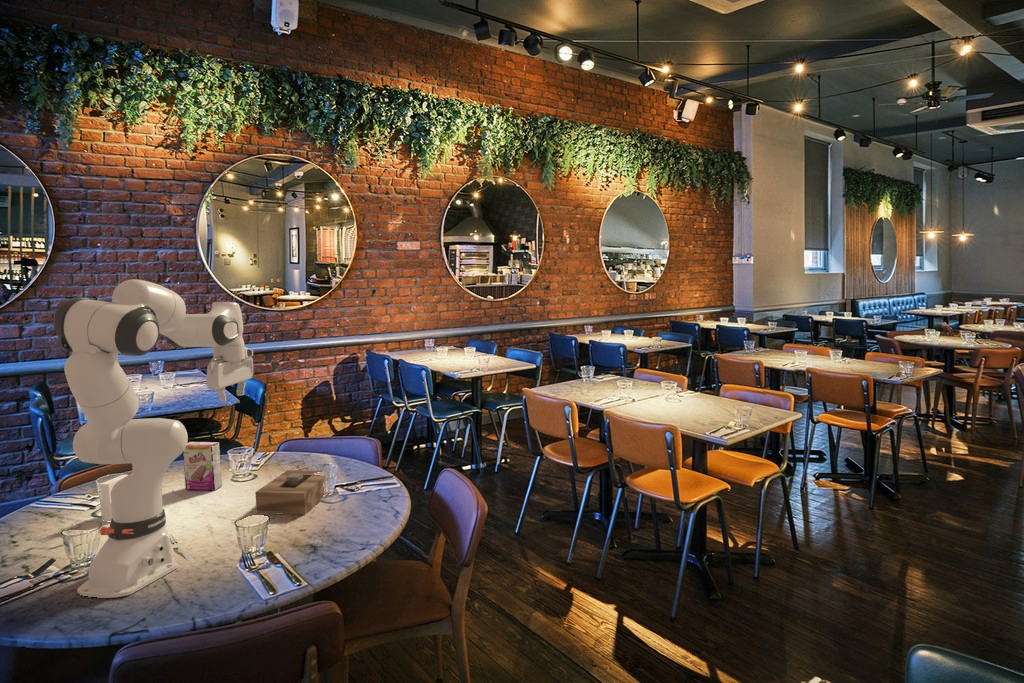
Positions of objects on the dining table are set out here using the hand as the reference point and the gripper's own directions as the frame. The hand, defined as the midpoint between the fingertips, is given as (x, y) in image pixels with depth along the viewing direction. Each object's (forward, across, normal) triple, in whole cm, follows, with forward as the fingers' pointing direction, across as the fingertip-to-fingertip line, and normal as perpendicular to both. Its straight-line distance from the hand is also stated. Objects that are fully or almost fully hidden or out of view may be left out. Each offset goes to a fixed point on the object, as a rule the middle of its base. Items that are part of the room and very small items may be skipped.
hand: (232, 398), depth 191 cm
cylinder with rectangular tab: (+37, -4, +38) cm, 53 cm away
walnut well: (+37, +12, -13) cm, 41 cm away
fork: (+38, -27, +1) cm, 46 cm away
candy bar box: (+37, +22, +26) cm, 51 cm away
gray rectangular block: (+36, +12, -13) cm, 40 cm away
